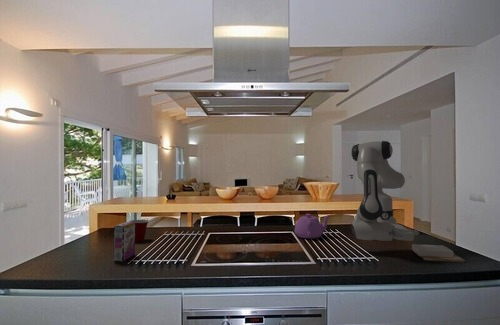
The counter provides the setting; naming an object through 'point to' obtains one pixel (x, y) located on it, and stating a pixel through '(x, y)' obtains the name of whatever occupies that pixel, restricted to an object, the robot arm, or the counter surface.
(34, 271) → the counter surface
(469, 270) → the counter surface
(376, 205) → the robot arm
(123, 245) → the candy bar box
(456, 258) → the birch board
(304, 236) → the teapot
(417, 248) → the tile
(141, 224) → the plastic cup
